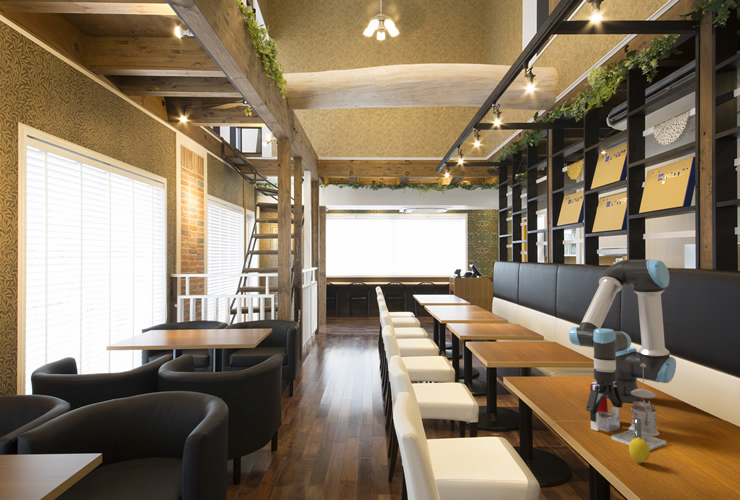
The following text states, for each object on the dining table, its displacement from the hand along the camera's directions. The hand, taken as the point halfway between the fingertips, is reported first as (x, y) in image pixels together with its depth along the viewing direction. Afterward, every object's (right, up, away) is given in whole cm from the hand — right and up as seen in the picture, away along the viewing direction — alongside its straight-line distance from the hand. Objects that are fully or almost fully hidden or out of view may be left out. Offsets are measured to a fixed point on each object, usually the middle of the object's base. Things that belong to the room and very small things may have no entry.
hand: (605, 426), depth 168 cm
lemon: (-6, +1, -30) cm, 31 cm away
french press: (+12, 0, -4) cm, 13 cm away
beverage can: (+2, -1, +8) cm, 8 cm away
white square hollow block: (0, 0, 0) cm, 0 cm away
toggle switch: (+4, 0, -14) cm, 14 cm away
